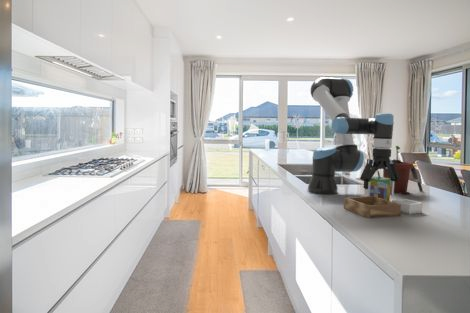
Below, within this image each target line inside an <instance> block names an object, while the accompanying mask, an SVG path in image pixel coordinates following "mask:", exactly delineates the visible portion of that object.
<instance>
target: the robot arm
mask: <svg viewBox="0 0 470 313" xmlns="http://www.w3.org/2000/svg"><path fill="white" fill-rule="evenodd" d="M353 92H354V86H353V83H352V81H351V80H350V79H348V78H343V77H340V78H339V77H324V76H323V77H319V78H317V79H316V80H314V81H313V83H312V84H311V86H310V95H311V98H312V100H314V101H315V102H317V103H318V104H319V105H320V107H321V108H322V110H323V111H324V112H325V113H326V114H327V116H328V117H329V119H330V120H331V130H332V132H333V133H334V134H335V139H336V146H335V147H334V146H326V147H318V148H316V149H314V150H313V152H312V153H313V154H312V165H311V166H312V168H311V171H312V172H311V173H312V174H311V178H310V181H309V183H308V186H307V191H308V192H311V193H314V194H321V195H322V194H323V195H334V194H337V193H338V190H339V189H338V185H337V182H336V177H335V175H336V172H339V173H340V172H341V173H342V172H343V173H347V172H348V173H352V172H358V171H360V170H361V169H362V167H363V165H364V161H365V156H364V152H362V150H361V149H360V150H359V149H358V145H357V144H356V143H354V138H353V137H354V136H353V135H373V146H372V147H373V148H372V156H373V158H372V159H371V158H370V159H369V158H367V159H366V163H365V166H364V167H363V168H364V169H363V170H362V173H361V175H360V177H359V180H361V181H363V189H364V190H363V191H364V192H363V193H364V194H363V196H364V197H367V196H370V184H371V182H369V181H370V179H371V178H372V177H374V175H375V174H376V173H377V171H378V170H383V169H384V170H385V171H386V173H387V175H388V176H389V178H391V187H390V196H394V194H395V193H394V188H395V181H398V180H399V179H400V178H399V174H398V171H397V167H396V160H397V159H393V158H391V157H392V149H391V148H392V144H393V132H394V124H395V123H394V114H392V113H376V114H375V115H374V116H375V117H373V118H366V117H365V118H363V117H351V115H350V110H349V102H350V100H351V99H352V97H353V94H354V93H353ZM389 163H390V166H389ZM390 168H391V169H390Z"/></svg>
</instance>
